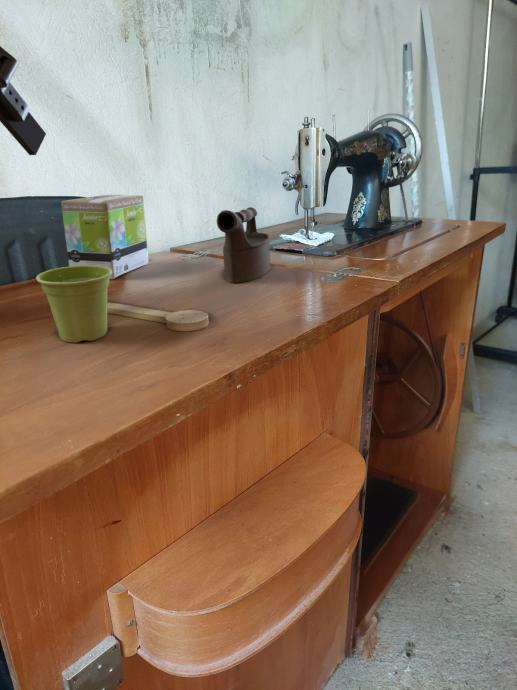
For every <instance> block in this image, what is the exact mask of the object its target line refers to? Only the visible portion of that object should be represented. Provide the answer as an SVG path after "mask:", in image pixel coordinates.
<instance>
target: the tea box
mask: <svg viewBox="0 0 517 690" xmlns="http://www.w3.org/2000/svg"><path fill="white" fill-rule="evenodd" d="M60 204H61V212H62V220H63V229H64V237H65V245H66V252H67V258H68V260H67V261H68V267H70V266H83V265H95V266H103V267H107V268H110V269H111V270H112V275H111V276H110V277H109V280H114V279H116V278H117V277H120V276H121V275H124V274H125V273H129V272H131V271H134V270H136V269H138V268H141V267H144V266H146V265H148V264H149V251H148V237H147V227H146V226H147V225H146V217H145V216H146V215H145V203H144V196H143V195H138V194H137V195H136V194H135V195H134V194H101V195H95V196H94V195H93V196H87V197H80V198H74V199H66V200H61V201H60Z"/></svg>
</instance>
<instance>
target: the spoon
mask: <svg viewBox="0 0 517 690" xmlns="http://www.w3.org/2000/svg"><path fill="white" fill-rule="evenodd" d="M107 314H111V315H117V316H122V317H127V318H133V319H140V320H144V321H145V320H146V321H149V322H150V321H151V322H157V323H162V324H165V325H166V328H167V329H168V330H172V331H175V332H192V331H198V330H201V329H204V328H206V327H208V325H209V324H210V322H209V321H210V320H209V313H207V312H206V311H204V310H198V309H197V310H195V309H187V310H178V311H174V312H172V311H167V310H159V309H154V308H147V307H142V306H141V307H140V306H135V305H129V304H124V303H123V304H122V303H116V302H112V301H111V302H110V301H107Z"/></svg>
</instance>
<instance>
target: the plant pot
mask: <svg viewBox="0 0 517 690" xmlns="http://www.w3.org/2000/svg"><path fill="white" fill-rule="evenodd" d="M111 275H112V270H111V269H110V268H107V267H103V266H95V265H83V266H70V267H69V266H63V267H58V268H52V269H49V270H46V271H43V272H40V273H39V274H37V275H36V277H35V279H36V282H37V283H39V284H40V285H41V288H42V291H43V292H44V293H45V295H46V298H47V301H48V304H49V307H50V311H51V313H52V316H53V320H54V324H55V327H56V329H57V332H58V336H59V338H60V340H62V341H63V342H67V343H72V344H76V343H80V342H81V341H87V342H94V341H97V340H98V339H101V338H103V337H104V336H106V334H107V332H108V313H107V302H108V289H109V286H110V279H109V277H110V276H111Z"/></svg>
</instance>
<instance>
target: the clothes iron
mask: <svg viewBox="0 0 517 690" xmlns="http://www.w3.org/2000/svg"><path fill="white" fill-rule="evenodd" d="M257 215H258V211H257V209H256V208H254V207H251V206H249V207H247V208H245V209H241V210H240V211H235V212H233V211H231V210H228V209H225V210H224V209H223V210H222V211H220V212H219V213H218V214H217V217H216V225H217V228H218V229H219V231H220V232H222V233H224V245H223V247H222V255H223V269H224V272H223V273H224V280H225V281H227V282H228V283H231V284H238V283H245V282H248V281H252V280H256V279H258V278H260V277H262V276H264V275H266V274H267V273H268V272H269V271H270V270H271V250H270V249H271V248H270V247H271V246H270V235H269V234H268V233H264V232H258V229H257V220H256V217H257ZM244 223H246V224H245V226H246V227H245V226H244Z"/></svg>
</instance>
